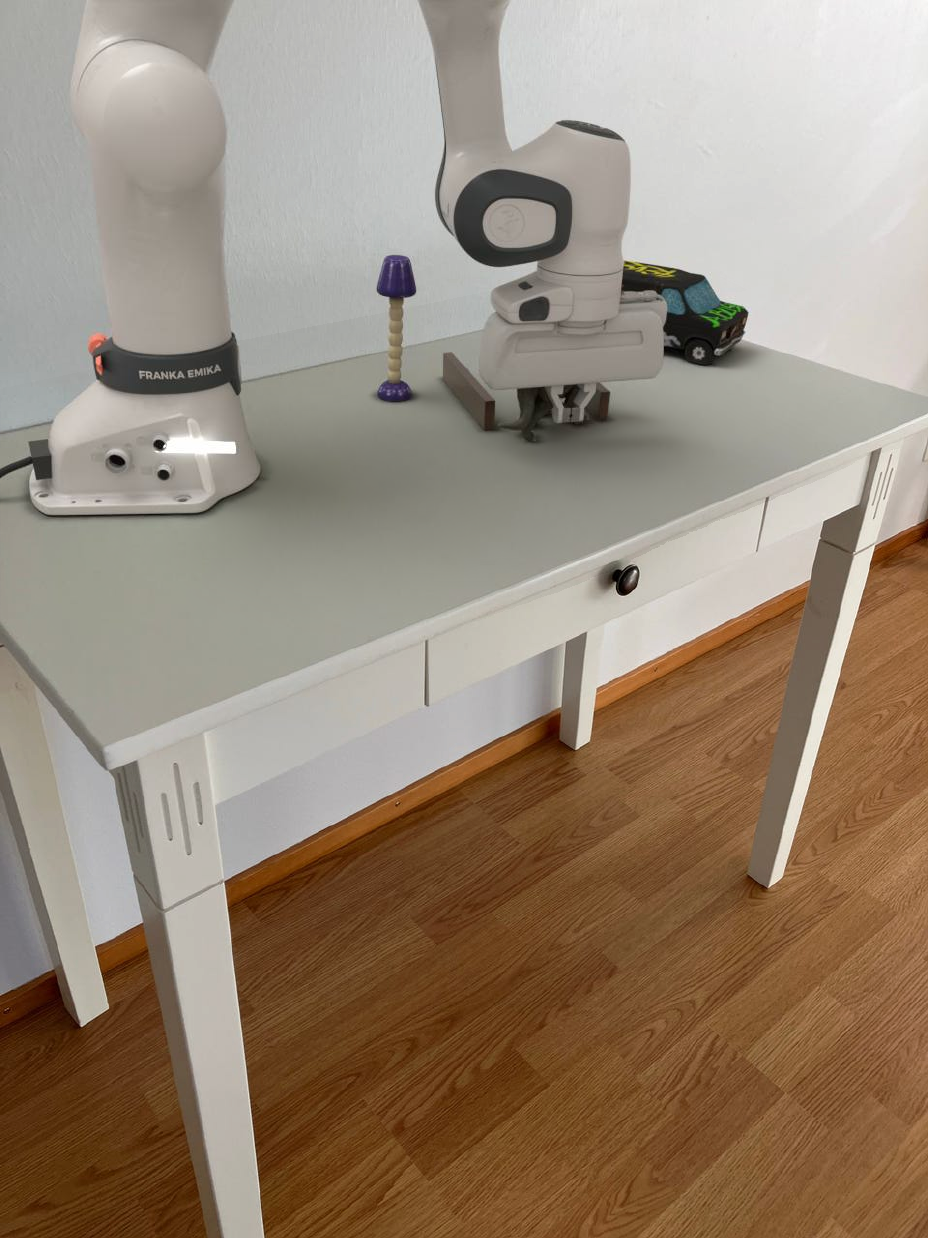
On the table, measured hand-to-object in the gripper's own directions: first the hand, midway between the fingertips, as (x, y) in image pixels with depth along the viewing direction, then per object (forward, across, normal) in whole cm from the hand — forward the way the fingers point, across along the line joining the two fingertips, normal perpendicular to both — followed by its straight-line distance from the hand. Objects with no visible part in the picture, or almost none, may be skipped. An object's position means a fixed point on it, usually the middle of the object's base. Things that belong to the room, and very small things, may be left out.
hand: (567, 420), depth 114 cm
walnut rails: (+3, 0, -15) cm, 15 cm away
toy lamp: (+3, +15, -18) cm, 24 cm away
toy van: (+3, -26, -33) cm, 42 cm away
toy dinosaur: (+3, +1, -5) cm, 6 cm away
